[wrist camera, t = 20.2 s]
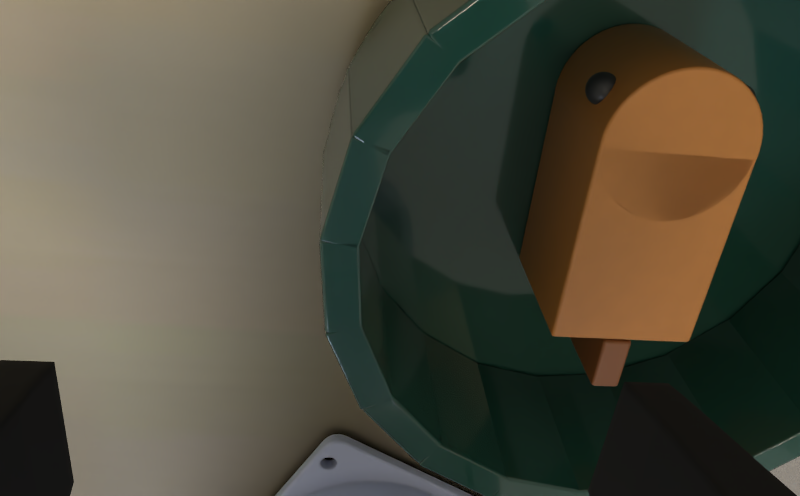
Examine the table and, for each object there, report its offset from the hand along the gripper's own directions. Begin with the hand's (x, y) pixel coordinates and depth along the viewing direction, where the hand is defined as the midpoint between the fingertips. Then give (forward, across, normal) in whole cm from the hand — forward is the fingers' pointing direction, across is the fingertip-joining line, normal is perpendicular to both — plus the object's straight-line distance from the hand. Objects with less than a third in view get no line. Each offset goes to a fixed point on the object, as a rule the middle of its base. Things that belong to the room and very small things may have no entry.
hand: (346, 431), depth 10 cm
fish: (+10, -7, +1) cm, 12 cm away
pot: (+10, -7, +1) cm, 12 cm away
